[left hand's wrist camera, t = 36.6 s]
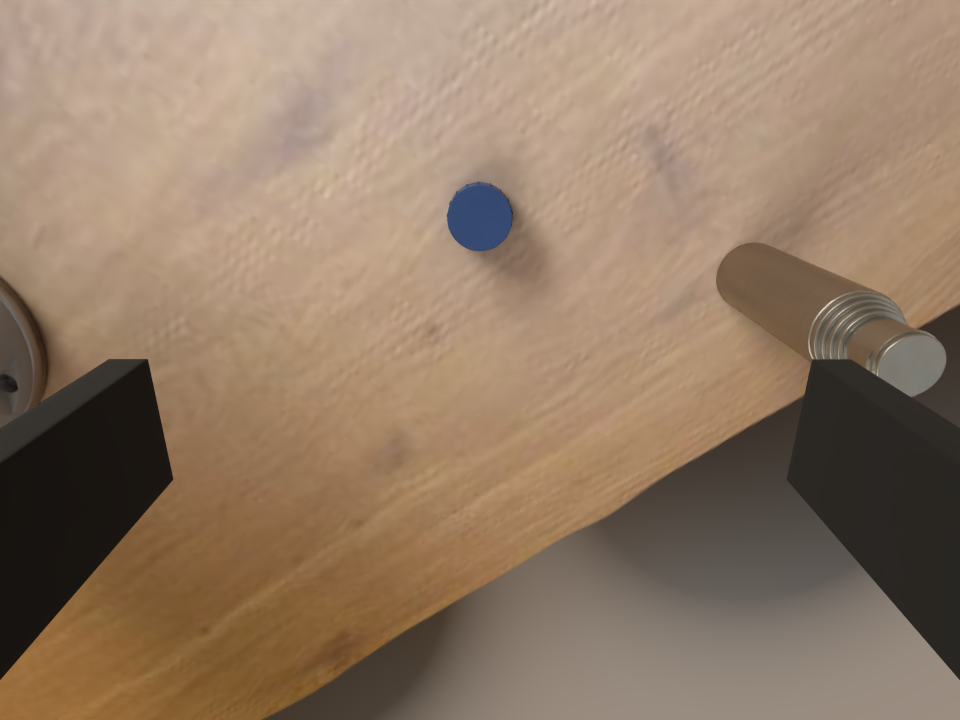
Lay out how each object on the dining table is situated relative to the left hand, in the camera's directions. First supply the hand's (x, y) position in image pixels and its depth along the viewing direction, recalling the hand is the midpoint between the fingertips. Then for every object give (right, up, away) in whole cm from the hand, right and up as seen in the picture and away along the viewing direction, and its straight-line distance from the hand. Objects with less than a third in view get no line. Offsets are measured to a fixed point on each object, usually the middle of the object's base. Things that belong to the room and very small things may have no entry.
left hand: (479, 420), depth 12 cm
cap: (0, +10, +26) cm, 28 cm away
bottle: (+18, +7, +29) cm, 35 cm away
